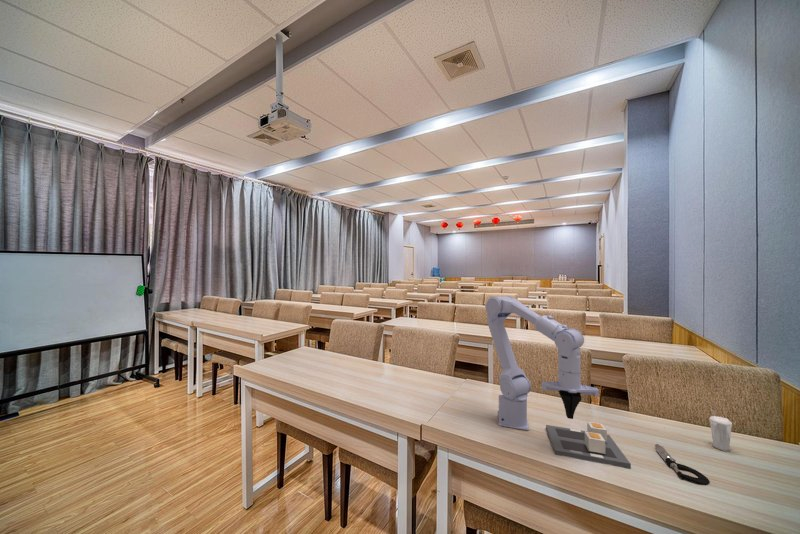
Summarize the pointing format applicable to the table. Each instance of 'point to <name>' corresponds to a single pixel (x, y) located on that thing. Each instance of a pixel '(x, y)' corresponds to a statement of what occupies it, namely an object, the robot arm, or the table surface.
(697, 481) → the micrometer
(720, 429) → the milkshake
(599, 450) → the white orange cube
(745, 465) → the table surface
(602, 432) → the white orange block
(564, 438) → the switch plate
